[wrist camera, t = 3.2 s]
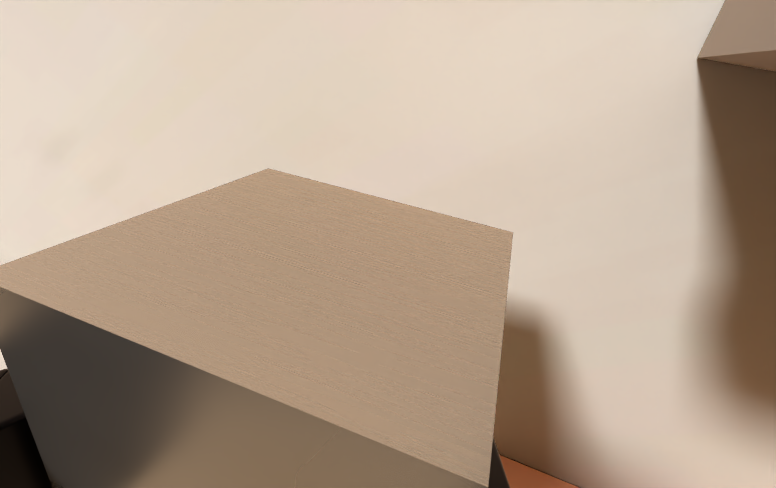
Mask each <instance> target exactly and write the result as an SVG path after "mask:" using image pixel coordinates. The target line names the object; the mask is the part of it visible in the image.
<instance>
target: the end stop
mask: <svg viewBox="0 0 776 488" xmlns="http://www.w3.org/2000/svg"><path fill="white" fill-rule="evenodd" d="M500 458H501V461H502V464H503V467H504V470H505V473H506V476H507V479H508V482H509V485H510V488H579V487H577V486H574V485H572V484H569V483H567V482H564V481H562V480H559V479H557V478H555V477H552V476H550V475H547V474H545V473H542V472H540V471H538V470H535V469H533V468H530V467H528V466H525V465H523V464H520V463H518V462H516V461H513V460H511V459H508V458H506V457H503V456H501V455H500Z"/></svg>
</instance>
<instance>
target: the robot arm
mask: <svg viewBox="0 0 776 488" xmlns="http://www.w3.org/2000/svg"><path fill="white" fill-rule="evenodd" d="M0 488H52V485H51V482H50V480H49V477H48V474H47V472H46V469H45V466H44V464H43V461H42V458H41V456H40V453H39V450H38V448H37V445H36V442H35V440H34V437H33V434H32V432H31V429H30V427H29V424H28V421H27V419H26V416H25V413H24V411H23V408H22V405H21V403H20V400H19V397H18V395H17V392H16V389H15V387H14V384H13V381H12V379H11V376H10V373H9V371H8V369H3V370H0ZM488 488H510V485H509V482H508V479H507V476H506V473H505V470H504V467H503V464H502V461H501V458H500V455H499V452H498V449H497V446H496V443H495V440H494V437H493V443H492V453H491V463H490V474H489V484H488Z"/></svg>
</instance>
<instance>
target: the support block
mask: <svg viewBox="0 0 776 488" xmlns="http://www.w3.org/2000/svg"><path fill="white" fill-rule="evenodd" d="M512 238H513V232H509V231H506V230H502V229H498V228H494V227H490V226H486V225H483V224H479V223H475V222H471V221H467V220H464V219H460V218H456V217H452V216H448V215H444V214H441V213H437V212H433V211H429V210H425V209H422V208H418V207H414V206H410V205H406V204H402V203H399V202H395V201H391V200H387V199H383V198H379V197H376V196H372V195H368V194H364V193H360V192H357V191H353V190H349V189H345V188H341V187H337V186H334V185H330V184H326V183H322V182H318V181H315V180H311V179H307V178H303V177H299V176H295V175H292V174H288V173H284V172H280V171H276V170H273V169H269V168H268V169H265V170H263V171H260V172H257V173H254V174H252V175H249V176H246V177H243V178H241V179H238V180H235V181H232V182H230V183H227V184H224V185H221V186H219V187H216V188H213V189H210V190H207V191H205V192H202V193H199V194H196V195H194V196H191V197H188V198H185V199H183V200H180V201H177V202H174V203H172V204H169V205H166V206H163V207H161V208H158V209H155V210H152V211H150V212H147V213H144V214H141V215H138V216H136V217H133V218H130V219H127V220H125V221H122V222H119V223H116V224H114V225H111V226H108V227H105V228H103V229H100V230H97V231H94V232H92V233H89V234H86V235H83V236H80V237H78V238H75V239H72V240H69V241H67V242H64V243H61V244H58V245H56V246H53V247H50V248H47V249H45V250H42V251H39V252H36V253H34V254H31V255H28V256H25V257H22V258H20V259H17V260H14V261H11V262H9V263H6V264H3V265H0V349H1V352H2V355H3V357H4V360H5V363H6V365H7V368H8V371H9V373H10V376H11V379H12V381H13V384H14V387H15V389H16V392H17V395H18V397H19V400H20V403H21V405H22V408H23V411H24V413H25V416H26V419H27V421H28V424H29V427H30V429H31V432H32V434H33V437H34V440H35V442H36V445H37V448H38V450H39V453H40V456H41V458H42V461H43V464H44V466H45V469H46V472H47V474H48V477H49V480H50V482H51V485H52V488H488V484H489V474H490V463H491V453H492V443H493V433H494V423H495V412H496V402H497V392H498V382H499V371H500V361H501V351H502V341H503V330H504V320H505V310H506V300H507V290H508V279H509V269H510V259H511V249H512Z"/></svg>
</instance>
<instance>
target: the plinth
mask: <svg viewBox="0 0 776 488" xmlns="http://www.w3.org/2000/svg"><path fill="white" fill-rule="evenodd" d="M697 58H702V59H707V60H713V61H718V62H724V63H730V64H735V65H741V66H746V67H752V68H758V69H763V70H769V71H774V72H776V0H725V2H724V4H723V6H722V8H721V10H720V12H719V14H718V16H717V18H716V21H715V23H714V25H713V27H712V29H711V31H710V33H709V35H708V37H707V39H706V41H705V43H704V45H703V47H702V49H701V51H700V53H699V55H698V57H697Z"/></svg>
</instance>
